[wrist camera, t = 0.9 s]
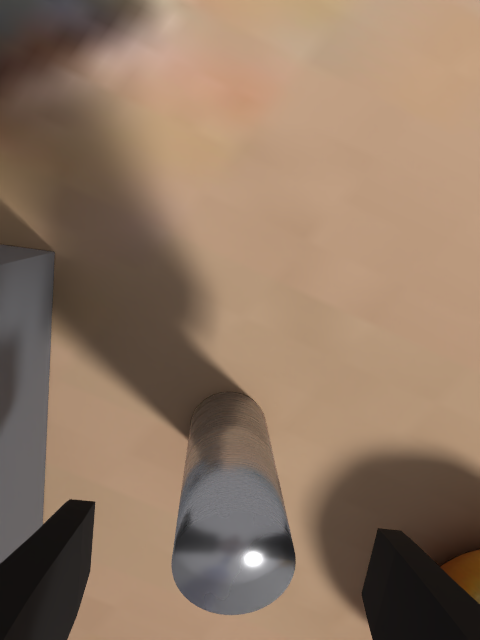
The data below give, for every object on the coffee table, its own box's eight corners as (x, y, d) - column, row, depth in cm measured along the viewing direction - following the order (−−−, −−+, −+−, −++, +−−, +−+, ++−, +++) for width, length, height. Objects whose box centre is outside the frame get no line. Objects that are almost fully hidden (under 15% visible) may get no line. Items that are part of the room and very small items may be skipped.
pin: (260, 464, 18) (284, 619, 11) (186, 457, 18) (165, 610, 11) (271, 396, 17) (305, 517, 10) (195, 387, 17) (178, 504, 10)
